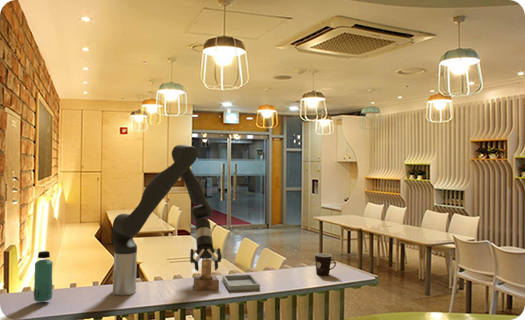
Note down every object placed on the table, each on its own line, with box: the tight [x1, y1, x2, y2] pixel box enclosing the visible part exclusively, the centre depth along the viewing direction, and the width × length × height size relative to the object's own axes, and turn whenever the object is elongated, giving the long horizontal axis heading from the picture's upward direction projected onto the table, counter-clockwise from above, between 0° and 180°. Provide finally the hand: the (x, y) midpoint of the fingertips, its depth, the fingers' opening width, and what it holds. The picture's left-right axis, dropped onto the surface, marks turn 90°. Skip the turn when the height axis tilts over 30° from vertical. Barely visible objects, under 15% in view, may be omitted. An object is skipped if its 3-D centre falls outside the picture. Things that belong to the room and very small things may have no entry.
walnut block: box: [193, 274, 220, 292], centre depth 193 cm, size 10×10×4 cm
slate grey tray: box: [221, 273, 261, 293], centre depth 198 cm, size 14×17×2 cm
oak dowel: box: [200, 258, 213, 280], centre depth 193 cm, size 4×4×12 cm
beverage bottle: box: [33, 250, 53, 302], centre depth 167 cm, size 6×7×20 cm
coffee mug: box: [314, 252, 337, 277], centre depth 219 cm, size 12×9×10 cm
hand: (206, 269), depth 192 cm, fingers open, 8 cm apart
